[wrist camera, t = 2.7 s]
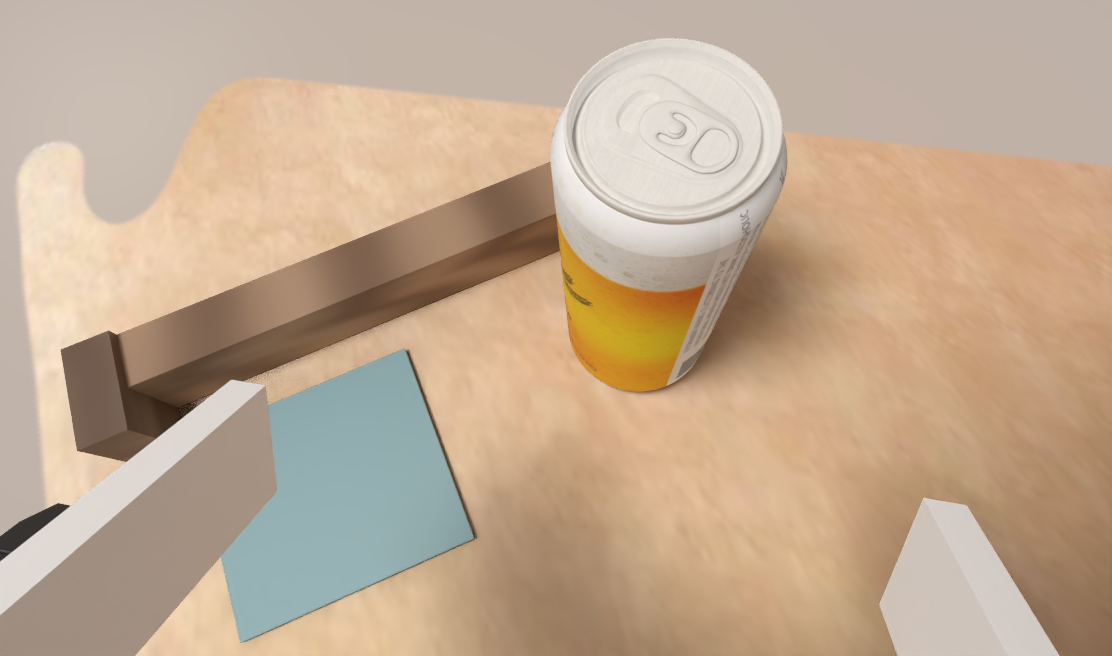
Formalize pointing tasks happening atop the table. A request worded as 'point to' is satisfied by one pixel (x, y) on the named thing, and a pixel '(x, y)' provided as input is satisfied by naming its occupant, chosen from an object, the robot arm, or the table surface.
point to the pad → (344, 497)
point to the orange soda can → (660, 202)
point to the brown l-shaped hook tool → (300, 311)
